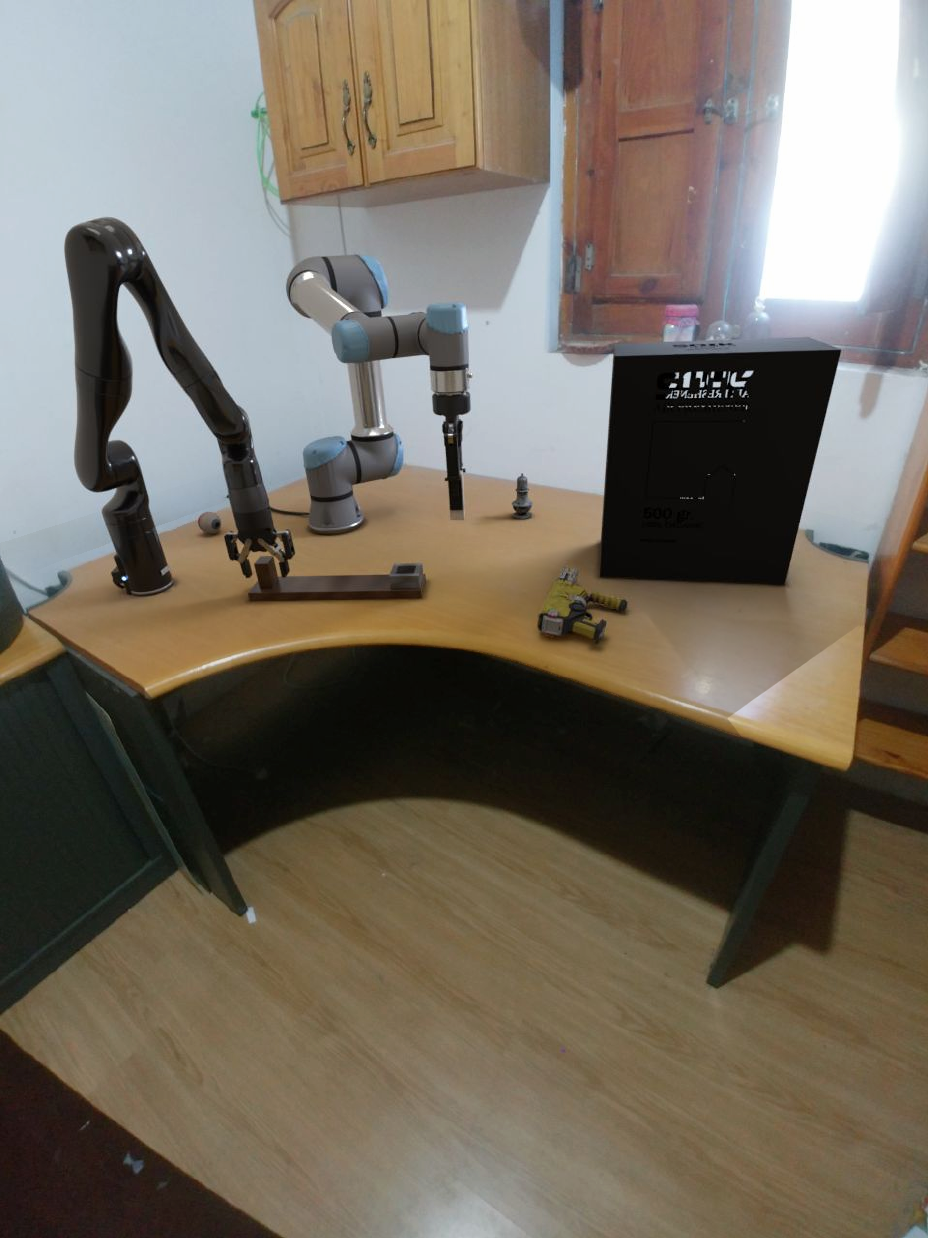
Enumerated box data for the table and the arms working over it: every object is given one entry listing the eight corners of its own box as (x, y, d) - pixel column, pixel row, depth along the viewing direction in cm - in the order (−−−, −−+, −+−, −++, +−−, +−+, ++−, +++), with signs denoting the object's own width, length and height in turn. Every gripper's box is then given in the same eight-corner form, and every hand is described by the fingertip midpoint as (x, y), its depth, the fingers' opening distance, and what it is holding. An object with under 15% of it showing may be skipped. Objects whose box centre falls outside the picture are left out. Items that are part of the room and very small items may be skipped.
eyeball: (211, 538, 165) (205, 517, 162) (196, 534, 168) (190, 514, 165) (229, 530, 169) (223, 510, 166) (214, 527, 172) (209, 507, 169)
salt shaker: (531, 519, 165) (531, 476, 159) (510, 518, 166) (509, 476, 160) (533, 511, 170) (534, 469, 164) (513, 511, 171) (512, 469, 165)
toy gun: (633, 576, 125) (562, 563, 129) (620, 630, 105) (537, 613, 109) (629, 596, 128) (560, 583, 132) (616, 653, 108) (534, 635, 111)
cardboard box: (763, 546, 142) (808, 336, 120) (784, 584, 125) (841, 349, 103) (600, 540, 150) (614, 343, 127) (599, 576, 133) (614, 355, 110)
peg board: (249, 601, 132) (241, 568, 128) (262, 584, 139) (254, 552, 135) (421, 598, 129) (418, 564, 125) (426, 581, 136) (423, 548, 132)
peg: (450, 520, 130) (447, 474, 125) (451, 515, 132) (448, 470, 127) (464, 520, 129) (462, 474, 124) (465, 515, 132) (462, 470, 127)
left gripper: (209, 512, 122) (229, 584, 130) (277, 510, 121) (293, 583, 129) (224, 500, 129) (242, 569, 137) (289, 498, 127) (304, 568, 135)
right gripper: (467, 399, 110) (472, 520, 122) (472, 383, 124) (476, 493, 136) (427, 400, 111) (436, 520, 123) (435, 385, 125) (443, 494, 137)
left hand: (267, 576), depth 133 cm, fingers open, 7 cm apart
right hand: (457, 506), depth 130 cm, fingers closed on peg, 3 cm apart
